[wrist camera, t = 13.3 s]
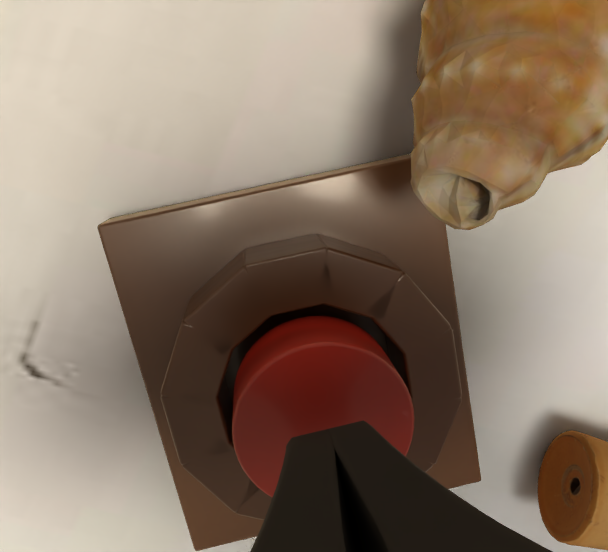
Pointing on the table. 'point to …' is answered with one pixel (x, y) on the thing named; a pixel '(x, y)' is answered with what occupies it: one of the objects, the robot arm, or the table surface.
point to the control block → (287, 317)
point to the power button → (313, 392)
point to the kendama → (575, 490)
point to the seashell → (505, 101)
